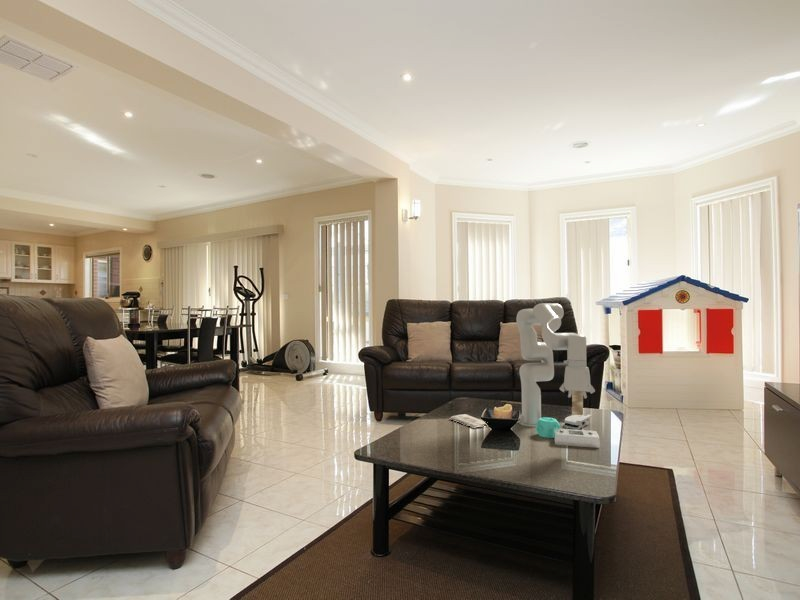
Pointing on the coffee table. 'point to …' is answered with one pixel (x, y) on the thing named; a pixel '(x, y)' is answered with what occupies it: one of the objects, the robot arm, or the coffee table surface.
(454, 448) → the coffee table surface
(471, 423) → the newspaper
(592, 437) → the rail block
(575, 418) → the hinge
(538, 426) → the decorative dice
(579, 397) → the beech peg
